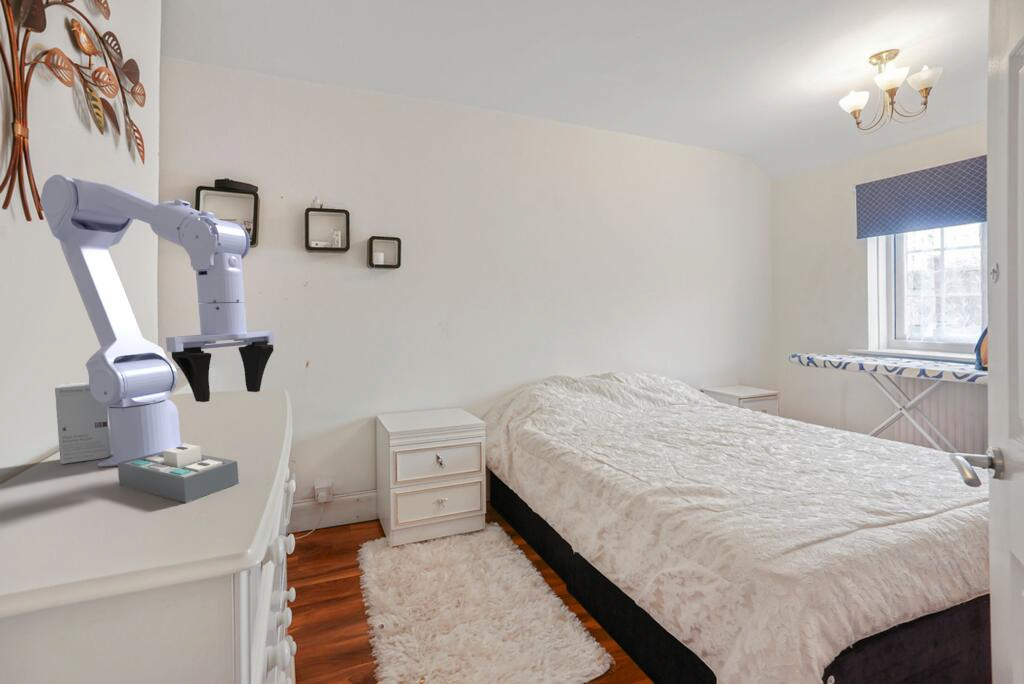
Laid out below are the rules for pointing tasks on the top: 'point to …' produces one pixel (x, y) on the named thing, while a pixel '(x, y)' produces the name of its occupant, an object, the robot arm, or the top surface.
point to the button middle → (182, 455)
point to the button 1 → (156, 458)
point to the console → (177, 478)
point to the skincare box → (81, 424)
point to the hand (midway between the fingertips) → (229, 396)
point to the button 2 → (203, 465)
